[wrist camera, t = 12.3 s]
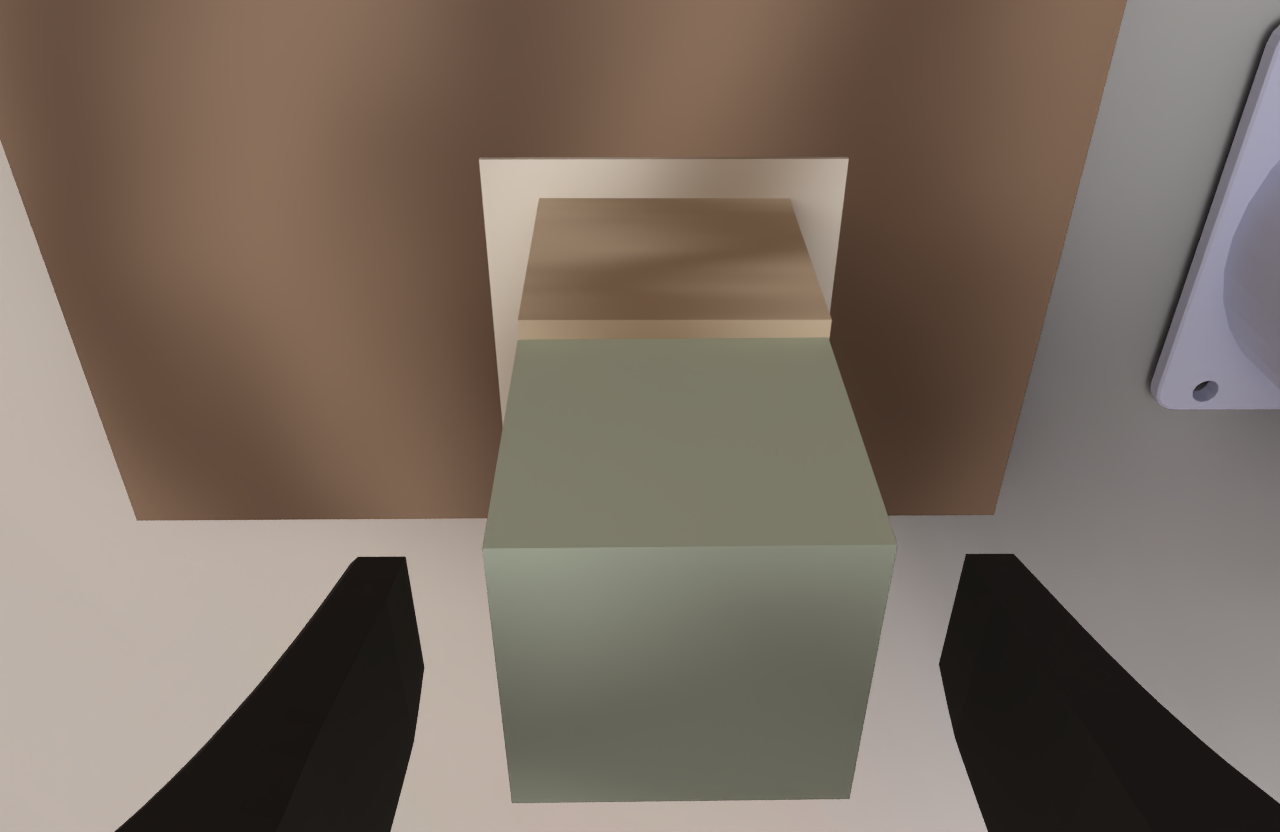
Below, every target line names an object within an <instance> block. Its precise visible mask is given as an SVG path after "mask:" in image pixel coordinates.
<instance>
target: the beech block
mask: <svg viewBox="0 0 1280 832" xmlns="http://www.w3.org/2000/svg"><path fill="white" fill-rule="evenodd" d="M831 323H832V319H831V316H830V313H829V310H828V307H827V304H826V302H825V299H824V296H823V293H822V290H821V287H820V284H819V282H818V279H817V276H816V273H815V270H814V267H813V264H812V262H811V259H810V256H809V253H808V250H807V247H806V244H805V242H804V239H803V236H802V233H801V230H800V227H799V224H798V222H797V219H796V216H795V213H794V210H793V207H792V204H791V202H790V199H789V198H539V202H538V207H537V213H536V219H535V224H534V230H533V236H532V242H531V247H530V253H529V259H528V264H527V270H526V276H525V282H524V287H523V293H522V299H521V304H520V310H519V316H518V331H519V340H532V339H672V338H811V337H828V338H830V331H831Z"/></svg>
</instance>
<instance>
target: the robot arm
mask: <svg viewBox="0 0 1280 832" xmlns="http://www.w3.org/2000/svg"><path fill="white" fill-rule="evenodd" d="M1205 381H1209V382H1208V384H1207V385H1206V386H1205V387H1204V388H1202V389H1201V390H1199V391H1194V392H1193V390H1194V389H1195V388H1196V386H1197V385H1199V384H1200V383H1202V382H1205ZM1150 390H1151V393H1152V395H1153V397H1154V398H1155V399H1156V401H1157V402H1158V403H1159V404H1160V405H1161V406H1163V407H1164V408H1166V409H1172V410H1243V409H1280V25H1279V26H1278V27H1277V28H1276V29H1275V30H1274V31H1273V32H1272V34H1271V36H1270V38H1269V40H1268V42H1267V44H1266V47H1265V49H1264V52H1263V55H1262V58H1261V61H1260V64H1259V67H1258V70H1257V73H1256V76H1255V79H1254V82H1253V85H1252V88H1251V91H1250V94H1249V97H1248V99H1247V102H1246V105H1245V108H1244V111H1243V114H1242V117H1241V120H1240V123H1239V126H1238V129H1237V132H1236V135H1235V138H1234V141H1233V144H1232V147H1231V149H1230V152H1229V155H1228V158H1227V161H1226V164H1225V167H1224V170H1223V173H1222V176H1221V179H1220V182H1219V185H1218V188H1217V191H1216V194H1215V197H1214V199H1213V202H1212V205H1211V208H1210V211H1209V214H1208V217H1207V220H1206V223H1205V226H1204V229H1203V232H1202V235H1201V238H1200V241H1199V244H1198V247H1197V249H1196V252H1195V255H1194V258H1193V261H1192V264H1191V267H1190V270H1189V273H1188V276H1187V279H1186V282H1185V285H1184V288H1183V291H1182V294H1181V297H1180V299H1179V302H1178V305H1177V308H1176V311H1175V314H1174V317H1173V320H1172V323H1171V326H1170V329H1169V332H1168V335H1167V338H1166V341H1165V344H1164V347H1163V349H1162V352H1161V355H1160V358H1159V361H1158V364H1157V367H1156V370H1155V373H1154V376H1153V379H1152V382H1151V389H1150ZM939 666H940V671H941V676H942V681H943V686H944V691H945V696H946V700H947V705H948V709H949V714H950V718H951V722H952V727H953V731H954V735H955V739H956V742H957V745H958V748H959V751H960V754H961V757H962V759H963V762H964V765H965V768H966V771H967V774H968V777H969V779H970V782H971V785H972V788H973V791H974V794H975V797H976V799H977V802H978V805H979V808H980V810H981V813H982V816H983V819H984V822H985V824H986V827H987V830H988V832H1280V804H1279V803H1278V802H1277V801H1276V800H1274V799H1273V798H1272V797H1270V796H1269V795H1268V794H1267V793H1265V792H1264V791H1263V790H1262V789H1260V788H1259V787H1258V786H1256V785H1255V784H1254V783H1253V782H1251V781H1250V780H1249V779H1248V778H1246V777H1245V776H1244V775H1243V774H1241V773H1240V772H1239V771H1237V770H1236V769H1235V768H1234V767H1232V766H1231V765H1230V764H1229V763H1227V762H1226V761H1225V760H1224V759H1223V758H1221V757H1220V756H1219V755H1218V754H1217V753H1215V752H1214V751H1213V750H1212V749H1211V748H1209V747H1208V746H1207V745H1206V744H1205V743H1204V742H1202V741H1201V740H1200V739H1199V738H1198V737H1197V736H1196V735H1195V734H1193V733H1192V732H1191V731H1190V730H1189V729H1188V728H1187V727H1186V726H1185V725H1183V724H1182V723H1181V722H1180V721H1179V720H1178V719H1177V718H1176V717H1175V716H1173V715H1172V714H1171V713H1170V712H1169V711H1168V710H1167V709H1166V708H1164V707H1163V706H1162V705H1161V704H1160V703H1159V702H1158V701H1157V700H1156V699H1155V698H1154V697H1153V696H1152V695H1150V694H1149V693H1148V692H1147V691H1146V690H1145V689H1144V688H1143V687H1142V686H1141V685H1140V684H1139V683H1138V682H1137V681H1136V680H1135V679H1134V678H1133V677H1132V676H1131V675H1130V674H1129V673H1128V672H1127V671H1126V670H1125V669H1124V668H1123V667H1122V666H1121V665H1120V664H1119V663H1118V662H1117V661H1116V660H1115V659H1114V658H1113V657H1111V656H1110V655H1109V654H1108V653H1107V652H1106V651H1105V650H1104V649H1103V647H1102V646H1101V645H1100V644H1099V643H1098V642H1097V641H1096V640H1095V639H1094V638H1093V637H1092V636H1091V635H1090V634H1089V633H1088V632H1087V631H1086V630H1085V629H1084V628H1083V627H1082V626H1081V625H1080V624H1079V623H1078V622H1077V621H1076V619H1075V618H1074V617H1073V616H1072V615H1071V614H1070V613H1069V612H1068V611H1067V610H1066V609H1065V608H1064V607H1063V606H1062V605H1061V604H1060V603H1059V602H1058V601H1057V599H1056V598H1055V597H1054V596H1053V595H1052V594H1051V593H1050V592H1049V591H1048V590H1047V589H1046V588H1045V587H1044V586H1043V585H1042V584H1041V582H1040V581H1039V580H1038V579H1037V578H1036V577H1035V576H1034V575H1033V574H1032V573H1031V572H1030V571H1029V570H1028V569H1027V568H1026V567H1025V566H1024V564H1023V563H1022V562H1021V561H1020V560H1019V559H1018V558H1017V557H1016V556H1015V555H1014V554H966V556H965V561H964V565H963V569H962V573H961V577H960V581H959V585H958V589H957V593H956V597H955V601H954V605H953V609H952V613H951V617H950V621H949V625H948V630H947V634H946V638H945V642H944V646H943V650H942V654H941V658H940V662H939ZM423 672H424V663H423V657H422V651H421V645H420V639H419V633H418V628H417V622H416V616H415V610H414V604H413V598H412V592H411V586H410V580H409V575H408V569H407V563H406V557H357V558H356V559H355V560H354V561H353V562H352V563H351V564H350V565H349V567H348V568H347V569H346V571H345V572H344V574H343V575H342V576H341V578H340V579H339V581H338V582H337V583H336V585H335V586H334V588H333V589H332V590H331V592H330V593H329V595H328V596H327V597H326V599H325V600H324V601H323V603H322V604H321V606H320V607H319V608H318V610H317V611H316V612H315V614H314V615H313V616H312V618H311V619H310V620H309V622H308V623H307V624H306V626H305V627H304V628H303V629H302V631H301V632H300V633H299V635H298V636H297V637H296V639H295V640H294V641H293V642H292V644H291V645H290V646H289V647H288V649H287V650H286V651H285V652H284V654H283V655H282V656H281V657H280V659H279V660H278V661H277V662H276V664H275V665H274V666H273V667H272V669H271V670H270V671H269V672H268V673H267V675H266V676H265V677H264V678H263V680H262V681H261V682H260V683H259V684H258V686H257V687H256V688H255V689H254V690H253V692H252V693H251V694H250V695H249V696H248V697H247V698H246V700H245V701H244V702H243V703H242V704H241V705H240V706H239V707H238V709H237V710H236V711H235V712H234V713H233V714H232V715H231V716H230V717H229V719H228V720H227V721H226V722H225V723H224V724H223V725H222V726H221V728H220V729H219V730H218V731H217V732H216V733H215V734H214V735H213V737H212V738H211V739H210V740H209V741H208V742H207V743H206V744H205V745H204V746H203V747H202V748H201V749H200V750H199V751H198V752H197V754H196V755H195V756H194V757H193V758H192V759H191V760H190V761H189V762H188V763H187V764H186V765H185V766H184V767H183V768H182V769H181V770H180V771H179V772H178V773H177V774H176V775H175V776H174V777H173V778H172V779H171V780H170V781H169V782H168V783H167V784H166V785H165V786H164V787H163V788H162V789H161V790H160V791H158V792H157V793H156V794H155V795H154V796H153V797H152V798H151V799H150V800H149V801H148V802H147V803H146V804H145V805H144V806H143V807H142V808H141V809H140V810H138V811H137V812H136V813H135V814H134V815H133V816H132V817H131V818H129V819H128V820H127V821H126V822H125V823H124V824H123V825H122V826H120V827H119V828H118V829H117V830H116V831H115V832H390V831H391V827H392V824H393V820H394V816H395V812H396V808H397V805H398V801H399V797H400V793H401V789H402V786H403V782H404V778H405V774H406V770H407V766H408V762H409V759H410V755H411V751H412V747H413V743H414V737H415V730H416V723H417V717H418V710H419V703H420V695H421V688H422V680H423Z"/></svg>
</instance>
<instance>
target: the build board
mask: <svg viewBox="0 0 1280 832" xmlns="http://www.w3.org/2000/svg"><path fill="white" fill-rule="evenodd" d="M1126 2H1127V0H0V140H1V143H2V145H3V148H4V151H5V154H6V157H7V159H8V162H9V165H10V168H11V170H12V173H13V176H14V179H15V182H16V184H17V187H18V190H19V193H20V196H21V198H22V201H23V204H24V207H25V209H26V212H27V215H28V218H29V221H30V223H31V226H32V229H33V232H34V235H35V237H36V240H37V243H38V246H39V248H40V251H41V254H42V257H43V260H44V262H45V265H46V268H47V271H48V274H49V276H50V279H51V282H52V285H53V287H54V290H55V293H56V296H57V299H58V301H59V304H60V307H61V310H62V312H63V315H64V318H65V321H66V324H67V326H68V329H69V332H70V335H71V338H72V340H73V343H74V346H75V349H76V351H77V354H78V357H79V360H80V363H81V365H82V368H83V371H84V374H85V377H86V379H87V382H88V385H89V388H90V390H91V393H92V396H93V399H94V402H95V404H96V407H97V410H98V413H99V416H100V418H101V421H102V424H103V427H104V429H105V432H106V435H107V438H108V441H109V443H110V446H111V449H112V452H113V454H114V457H115V460H116V463H117V466H118V468H119V471H120V474H121V477H122V480H123V482H124V485H125V488H126V491H127V493H128V496H129V499H130V502H131V505H132V507H133V510H134V513H135V516H136V519H137V520H281V519H432V518H488V512H489V506H490V500H491V494H492V488H493V482H494V477H495V471H496V465H497V459H498V453H499V447H500V441H501V435H502V429H503V424H504V418H505V412H506V406H507V400H508V394H509V388H510V382H511V376H512V370H513V365H514V359H515V353H516V347H517V341H518V340H519V331H518V316H519V310H520V304H521V299H522V293H523V287H524V282H525V276H526V270H527V264H528V259H529V253H530V247H531V242H532V236H533V230H534V224H535V219H536V213H537V207H538V202H539V198H789V199H790V202H791V204H792V207H793V210H794V213H795V216H796V219H797V222H798V224H799V227H800V230H801V233H802V236H803V239H804V242H805V244H806V247H807V250H808V253H809V256H810V259H811V262H812V264H813V267H814V270H815V273H816V276H817V279H818V282H819V284H820V287H821V290H822V293H823V296H824V299H825V302H826V304H827V307H828V310H829V313H830V316H831V319H832V323H831V331H830V338H829V341H830V344H831V347H832V350H833V353H834V356H835V359H836V362H837V365H838V368H839V371H840V374H841V377H842V380H843V383H844V386H845V389H846V392H847V395H848V398H849V401H850V404H851V407H852V410H853V413H854V416H855V419H856V422H857V425H858V428H859V431H860V434H861V437H862V440H863V443H864V446H865V449H866V452H867V455H868V458H869V461H870V464H871V467H872V470H873V473H874V476H875V479H876V482H877V485H878V488H879V491H880V494H881V497H882V500H883V503H884V506H885V509H886V512H887V515H994V512H995V508H996V504H997V500H998V496H999V492H1000V488H1001V485H1002V481H1003V477H1004V473H1005V469H1006V465H1007V461H1008V458H1009V454H1010V450H1011V446H1012V442H1013V438H1014V434H1015V430H1016V427H1017V423H1018V419H1019V415H1020V411H1021V407H1022V403H1023V400H1024V396H1025V392H1026V388H1027V384H1028V380H1029V376H1030V373H1031V369H1032V365H1033V361H1034V357H1035V353H1036V349H1037V346H1038V342H1039V338H1040V334H1041V330H1042V326H1043V322H1044V318H1045V315H1046V311H1047V307H1048V303H1049V299H1050V295H1051V291H1052V288H1053V284H1054V280H1055V276H1056V272H1057V268H1058V264H1059V261H1060V257H1061V253H1062V249H1063V245H1064V241H1065V237H1066V233H1067V230H1068V226H1069V222H1070V218H1071V214H1072V210H1073V206H1074V203H1075V199H1076V195H1077V191H1078V187H1079V183H1080V179H1081V176H1082V172H1083V168H1084V164H1085V160H1086V156H1087V152H1088V149H1089V145H1090V141H1091V137H1092V133H1093V129H1094V125H1095V121H1096V118H1097V114H1098V110H1099V106H1100V102H1101V98H1102V94H1103V91H1104V87H1105V83H1106V79H1107V75H1108V71H1109V67H1110V64H1111V60H1112V56H1113V52H1114V48H1115V44H1116V40H1117V37H1118V33H1119V29H1120V25H1121V21H1122V17H1123V13H1124V9H1125V6H1126Z"/></svg>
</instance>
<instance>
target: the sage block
mask: <svg viewBox="0 0 1280 832" xmlns="http://www.w3.org/2000/svg"><path fill="white" fill-rule="evenodd" d="M896 550H897V542H896V539H895V536H894V533H893V530H892V527H891V524H890V521H889V518H888V515H887V512H886V509H885V506H884V503H883V500H882V497H881V494H880V491H879V488H878V485H877V482H876V479H875V476H874V473H873V470H872V467H871V464H870V461H869V458H868V455H867V452H866V449H865V446H864V443H863V440H862V437H861V434H860V431H859V428H858V425H857V422H856V419H855V416H854V413H853V410H852V407H851V404H850V401H849V398H848V395H847V392H846V389H845V386H844V383H843V380H842V377H841V374H840V371H839V368H838V365H837V362H836V359H835V356H834V353H833V350H832V347H831V344H830V341H829V338H828V337H811V338H672V339H532V340H518V341H517V347H516V353H515V359H514V365H513V370H512V376H511V382H510V388H509V394H508V400H507V406H506V412H505V418H504V424H503V429H502V435H501V441H500V447H499V453H498V459H497V465H496V471H495V477H494V482H493V488H492V494H491V500H490V506H489V512H488V518H487V524H486V530H485V536H484V541H483V547H482V551H483V559H484V568H485V576H486V585H487V594H488V602H489V611H490V619H491V628H492V636H493V645H494V654H495V662H496V671H497V679H498V688H499V697H500V705H501V714H502V722H503V731H504V739H505V748H506V757H507V765H508V774H509V782H510V791H511V800H512V803H561V802H641V801H721V800H801V799H849V798H850V793H851V788H852V782H853V777H854V772H855V767H856V761H857V756H858V751H859V746H860V740H861V735H862V730H863V724H864V719H865V714H866V709H867V703H868V698H869V693H870V687H871V682H872V677H873V672H874V666H875V661H876V656H877V651H878V645H879V640H880V635H881V629H882V624H883V619H884V614H885V608H886V603H887V598H888V592H889V587H890V582H891V577H892V571H893V566H894V561H895V555H896Z"/></svg>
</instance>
